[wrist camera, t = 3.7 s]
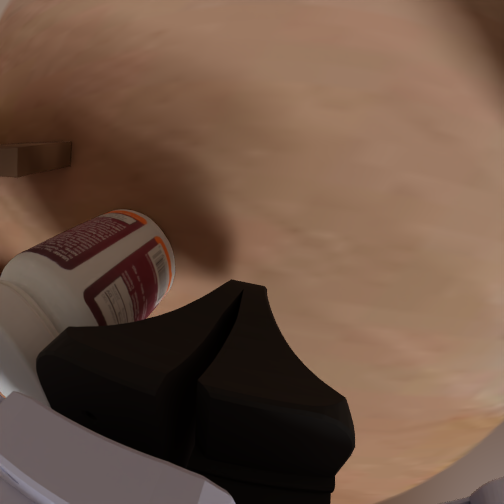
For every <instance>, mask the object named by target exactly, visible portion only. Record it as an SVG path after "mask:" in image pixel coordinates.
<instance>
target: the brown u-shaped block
mask: <svg viewBox="0 0 504 504" xmlns="http://www.w3.org/2000/svg"><path fill="white" fill-rule="evenodd" d="M71 143H72V142H37V143H17V144H3V145H0V176H3V177H21V176H26V175H30V174H34V173H39V172H44V171H48V170H53V169H58V168H64V167H69V166H70V160H71ZM0 277H1V276H0Z"/></svg>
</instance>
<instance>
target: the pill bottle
mask: <svg viewBox="0 0 504 504" xmlns="http://www.w3.org/2000/svg"><path fill="white" fill-rule="evenodd" d="M174 275H175V259H174V254H173V250H172V248H171V245H170V243H169V241H168V239H167V238H166V236H165V234H164V233H163V231H162V230H161V229H160V228H159V227H158V225H157V224H156V223H155V222H153V221H152V220H151V219H150V218H149V217H147V216H145V215H144V214H142V213H139V212H136V211H133V210H128V209H119V210H113V211H110V212H108V213H105V214H103V215H100V216H98V217H96V218H93V219H91V220H89V221H87V222H85V223H82V224H80V225H77V226H76V227H74V228H71V229H69V230H67V231H65V232H63V233H61V234H58V235H56V236H55V237H53V238H50V239H48V240H46V241H44V242H42V243H40V244H38V245H36V246H34V247H32V248H30V249H28V250H26V251H23V252H21V253H20V254H18V255H16V256H15V257H14V258H13V259H12V260H10V261H9V263H8V264H7V265H6V266H5V268H4V269H3V271H2V274H1V277H0V392H1V393H2V394H3V395H4V396H5V397H7V396H8V395H9V394H10V393H12V392H13V391H16V392H21V393H23V394H25V395H27V396H29V397H32V398H34V399H36V400H38V401H39V402H41V403H43V404H44V405H46V406H48V407H49V408H51V407H50V404H49V402H48V400H47V398H46V395H45V393H44V391H43V388H42V386H41V384H40V381H39V378H38V375H37V371H36V358H37V356H38V354H39V353H40V352H41V351H42V350H43V349H44V348H45V347H46V346H47V345H48V344H50V343H51V342H52V341H53V340H54V339H55V338H56V337H57V336H58V335H59V334H61V333H62V332H63V331H64V330H65V329H66V328H67V327H69V326H72V327H83V326H107V325H116V324H124V323H130V322H135V321H139V320H144V319H146V318H147V317H148V316H149V315H150V313H151V312H152V311H153V310H154V309H155V308H156V306H157V305H158V304H159V302H160V301H161V300H162V299H163V298H164V297H165V295H166V294H167V293H168V291H169V290H170V288H171V286H172V283H173V279H174Z"/></svg>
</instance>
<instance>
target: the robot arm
mask: <svg viewBox="0 0 504 504" xmlns="http://www.w3.org/2000/svg"><path fill="white" fill-rule="evenodd" d="M36 371H37V375H38V378H39V381H40V384H41V386H42V388H43V391H44V393H45V395H46V398H47V400H48V402H49V404H50V407H51V408H49V407H48V406H46V405H44V404H43V403H41V402H39V401H38V400H36V399H34V398H32V397H29V396H27V395H25V394H23V393H21V392H16V391H13V392H12V393H10V394H9V395H8V396H7V397H6V398H3V397H2V396H1V395H0V504H330V497H331V493H332V492H333V491H334V488H335V475H336V474H337V472H338V471H339V470H340V469H341V467H342V466H343V465H344V464H345V462H346V461H347V460H348V458H349V457H350V456H351V454H352V452H353V450H354V448H355V431H354V425H353V421H352V417H351V413H350V410H349V406H348V403H347V400H346V398H345V397H344V396H342V395H341V394H339V393H338V392H337V391H335V390H334V389H332V388H331V387H330V386H328V385H327V384H325V383H324V382H323V381H322V380H320V379H319V378H318V377H317V376H316V375H315V374H314V373H312V372H311V371H310V370H309V369H308V368H307V367H306V366H305V365H304V364H303V363H302V361H301V360H300V359H299V358H298V357H297V356H296V355H295V353H294V352H293V351H292V349H291V348H290V347H289V345H288V343H287V342H286V340H285V339H284V337H283V335H282V333H281V332H280V330H279V328H278V326H277V324H276V321H275V319H274V316H273V314H272V311H271V308H270V305H269V301H268V297H267V289H266V287H265V286H261V285H256V284H251V283H246V282H241V281H236V280H230V281H228V282H226V283H225V284H223V285H222V286H220V287H218V288H217V289H215V290H214V291H212V292H210V293H209V294H207V295H205V296H203V297H202V298H200V299H198V300H196V301H194V302H192V303H190V304H188V305H186V306H183V307H181V308H179V309H176V310H174V311H171V312H168V313H165V314H162V315H159V316H156V317H152V318H148V319H144V320H139V321H135V322H130V323H124V324H116V325H107V326H83V327H72V326H69V327H67V328H66V329H65V330H64V331H63V332H62V333H61V334H59V335H58V336H57V337H56V338H55V339H54V340H53V341H52V342H51V343H50V344H48V345H47V346H46V347H45V348H44V349H43V350H42V351H41V352H40V353H39V354H38V356H37V358H36ZM440 504H504V477H501V478H498V479H495V480H492V481H489V482H487V483H486V484H484V485H482V486H481V487H479V488H478V489H477V490H476V491H474V492H473V493H472V494H471V496H470V497H466V498H462V499H458V500H454V501H449V502H445V503H440Z"/></svg>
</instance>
